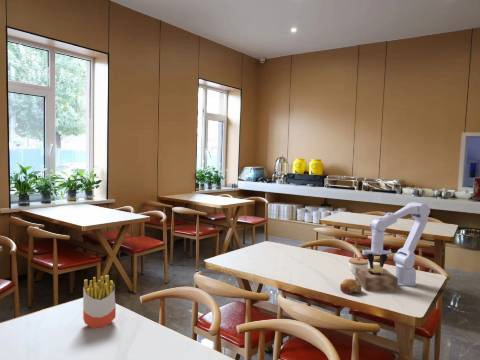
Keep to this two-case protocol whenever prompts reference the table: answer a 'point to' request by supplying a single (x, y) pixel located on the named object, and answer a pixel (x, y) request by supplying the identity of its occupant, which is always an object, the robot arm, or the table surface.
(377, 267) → the brass cube
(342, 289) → the bread roll
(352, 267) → the lidded jar
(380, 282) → the coin box
